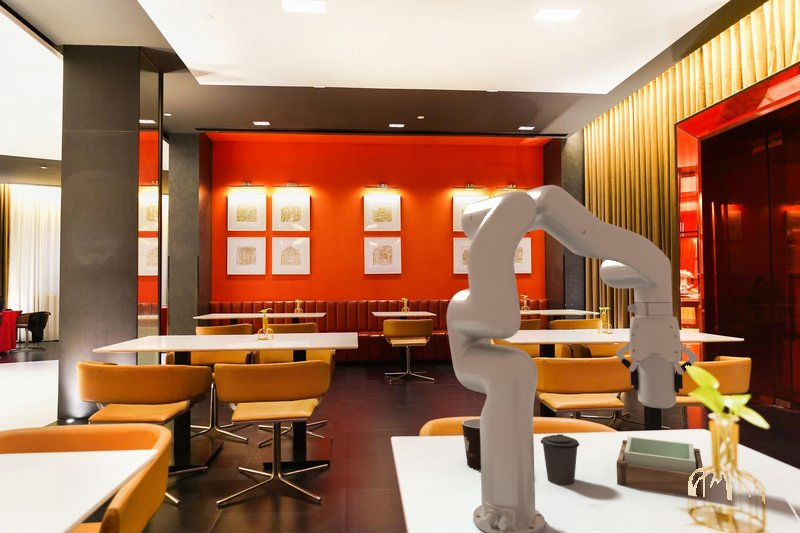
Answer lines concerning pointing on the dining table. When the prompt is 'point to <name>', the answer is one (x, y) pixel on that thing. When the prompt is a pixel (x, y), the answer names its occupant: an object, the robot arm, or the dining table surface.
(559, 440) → the coffee cup
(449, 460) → the dining table surface
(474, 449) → the coffee mug
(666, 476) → the walnut crate
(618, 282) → the robot arm
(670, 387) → the can
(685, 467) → the sage crate
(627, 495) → the dining table surface
